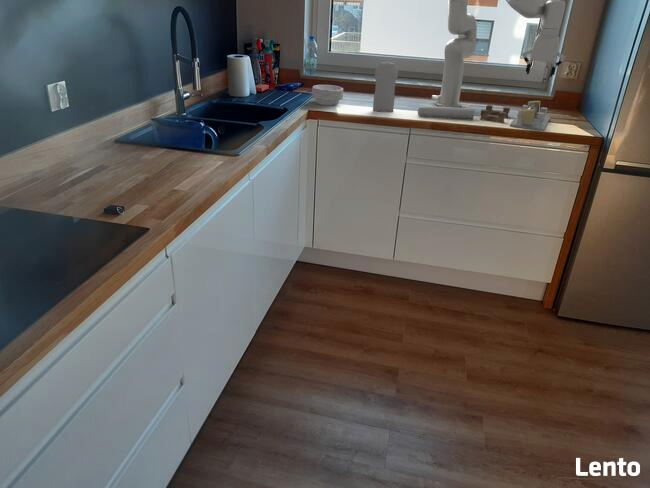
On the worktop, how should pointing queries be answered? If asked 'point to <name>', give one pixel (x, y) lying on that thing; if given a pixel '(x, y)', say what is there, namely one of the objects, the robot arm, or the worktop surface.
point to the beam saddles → (494, 114)
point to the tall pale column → (385, 87)
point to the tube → (446, 112)
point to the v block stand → (536, 125)
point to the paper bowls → (327, 94)
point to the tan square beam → (530, 111)
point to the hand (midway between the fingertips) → (539, 75)
